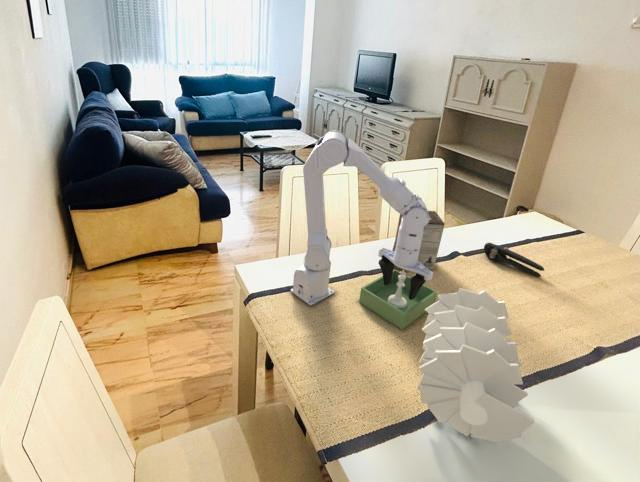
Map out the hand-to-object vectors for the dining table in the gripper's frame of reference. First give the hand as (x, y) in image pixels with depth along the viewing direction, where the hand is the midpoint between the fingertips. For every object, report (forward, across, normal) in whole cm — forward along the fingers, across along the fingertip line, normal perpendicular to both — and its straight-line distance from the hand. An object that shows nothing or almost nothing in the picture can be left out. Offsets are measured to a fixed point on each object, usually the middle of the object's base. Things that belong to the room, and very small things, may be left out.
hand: (399, 290), depth 101 cm
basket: (+4, 0, 0) cm, 4 cm away
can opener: (+4, -11, -47) cm, 48 cm away
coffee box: (+4, +8, -25) cm, 27 cm away
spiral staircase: (+4, -24, +14) cm, 28 cm away
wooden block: (+4, +11, -17) cm, 21 cm away
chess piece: (+4, 0, 0) cm, 4 cm away
